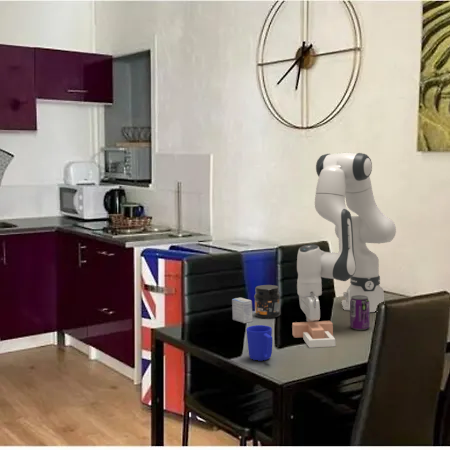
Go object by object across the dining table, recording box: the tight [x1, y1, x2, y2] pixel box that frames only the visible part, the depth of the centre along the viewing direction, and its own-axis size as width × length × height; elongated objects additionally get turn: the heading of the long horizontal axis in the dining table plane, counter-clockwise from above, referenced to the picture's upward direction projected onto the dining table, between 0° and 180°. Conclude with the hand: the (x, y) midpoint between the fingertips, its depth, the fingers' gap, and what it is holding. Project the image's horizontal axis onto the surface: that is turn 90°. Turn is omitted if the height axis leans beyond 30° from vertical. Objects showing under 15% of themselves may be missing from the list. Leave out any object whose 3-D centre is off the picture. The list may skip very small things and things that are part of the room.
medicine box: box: [231, 297, 253, 324], centre depth 260 cm, size 8×4×9 cm, turn 34°
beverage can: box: [349, 295, 371, 331], centre depth 243 cm, size 7×7×12 cm
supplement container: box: [253, 284, 281, 319], centre depth 267 cm, size 10×10×12 cm
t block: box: [291, 320, 334, 339], centre depth 233 cm, size 12×14×4 cm
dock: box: [302, 331, 336, 349], centre depth 227 cm, size 10×9×2 cm
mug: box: [246, 324, 273, 362], centre depth 209 cm, size 8×12×10 cm
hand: (310, 326), depth 240 cm, fingers closed
